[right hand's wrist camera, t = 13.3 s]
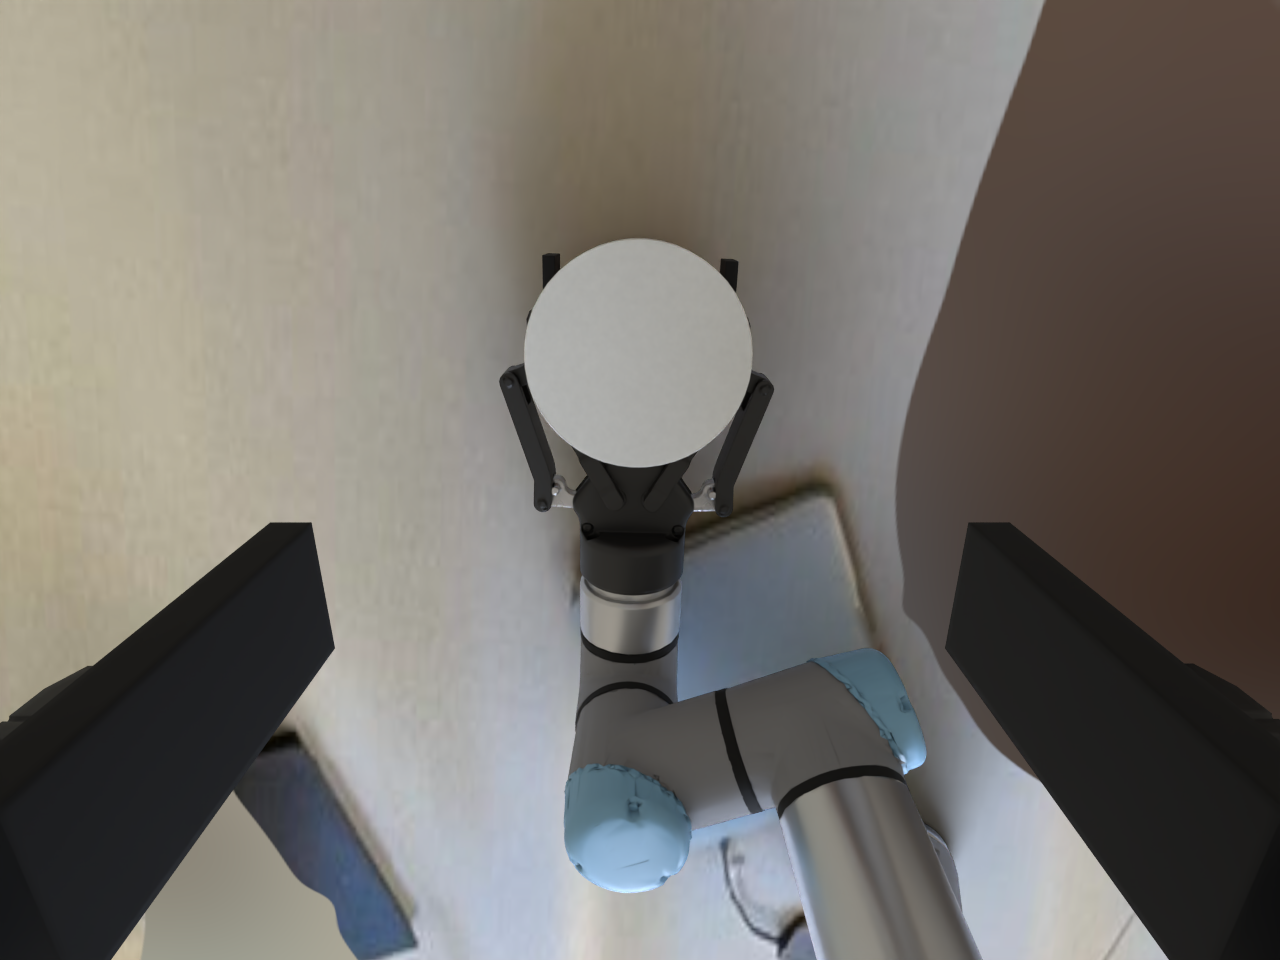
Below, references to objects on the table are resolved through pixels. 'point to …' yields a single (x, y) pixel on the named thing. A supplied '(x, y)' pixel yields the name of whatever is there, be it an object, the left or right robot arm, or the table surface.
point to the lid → (638, 352)
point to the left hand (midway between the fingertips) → (640, 257)
